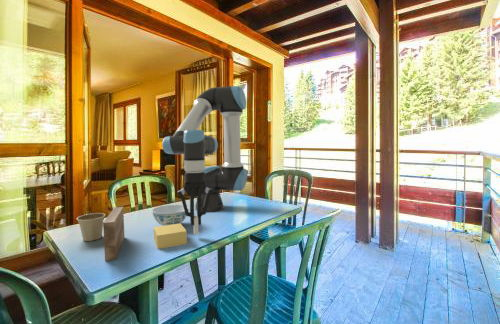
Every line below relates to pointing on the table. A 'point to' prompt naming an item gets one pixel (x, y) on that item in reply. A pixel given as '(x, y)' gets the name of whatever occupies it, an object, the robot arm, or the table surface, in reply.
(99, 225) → the flower pot
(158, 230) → the mustard block
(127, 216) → the table surface
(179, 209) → the chinaware
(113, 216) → the walnut board
